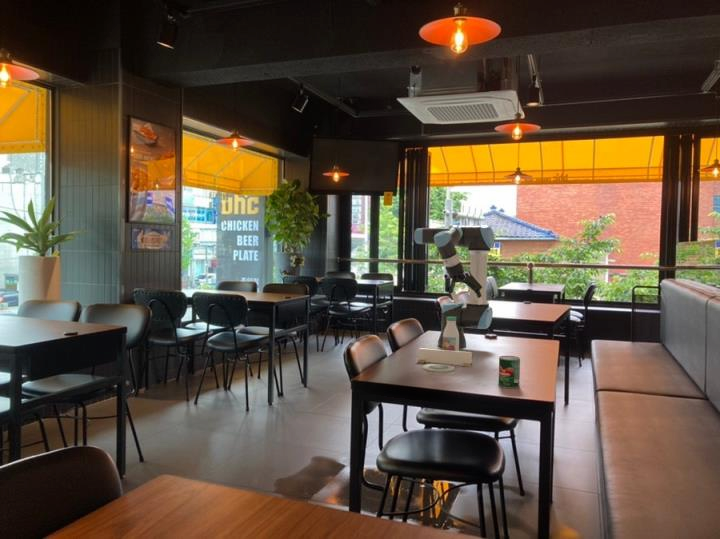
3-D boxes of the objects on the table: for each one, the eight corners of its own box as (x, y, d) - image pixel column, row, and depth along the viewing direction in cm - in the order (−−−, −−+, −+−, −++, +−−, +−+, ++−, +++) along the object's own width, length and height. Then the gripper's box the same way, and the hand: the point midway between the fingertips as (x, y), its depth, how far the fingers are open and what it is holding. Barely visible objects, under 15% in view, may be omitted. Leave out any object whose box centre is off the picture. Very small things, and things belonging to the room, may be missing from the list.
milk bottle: (448, 356, 277) (449, 315, 276) (462, 358, 271) (462, 317, 271) (439, 358, 271) (439, 316, 271) (452, 361, 266) (453, 318, 265)
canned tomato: (497, 387, 217) (497, 358, 216) (499, 382, 224) (500, 355, 224) (518, 389, 214) (519, 360, 214) (520, 384, 221) (521, 356, 221)
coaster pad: (416, 366, 252) (416, 365, 252) (442, 364, 258) (442, 362, 258) (434, 373, 240) (434, 371, 240) (461, 370, 246) (461, 368, 246)
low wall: (417, 362, 262) (417, 349, 261) (421, 360, 267) (421, 347, 267) (469, 366, 253) (470, 353, 253) (472, 364, 259) (472, 351, 258)
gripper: (427, 269, 267) (444, 308, 273) (469, 265, 248) (486, 307, 254) (437, 261, 271) (453, 300, 277) (478, 257, 252) (495, 298, 258)
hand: (469, 303), depth 265 cm, fingers open, 13 cm apart
